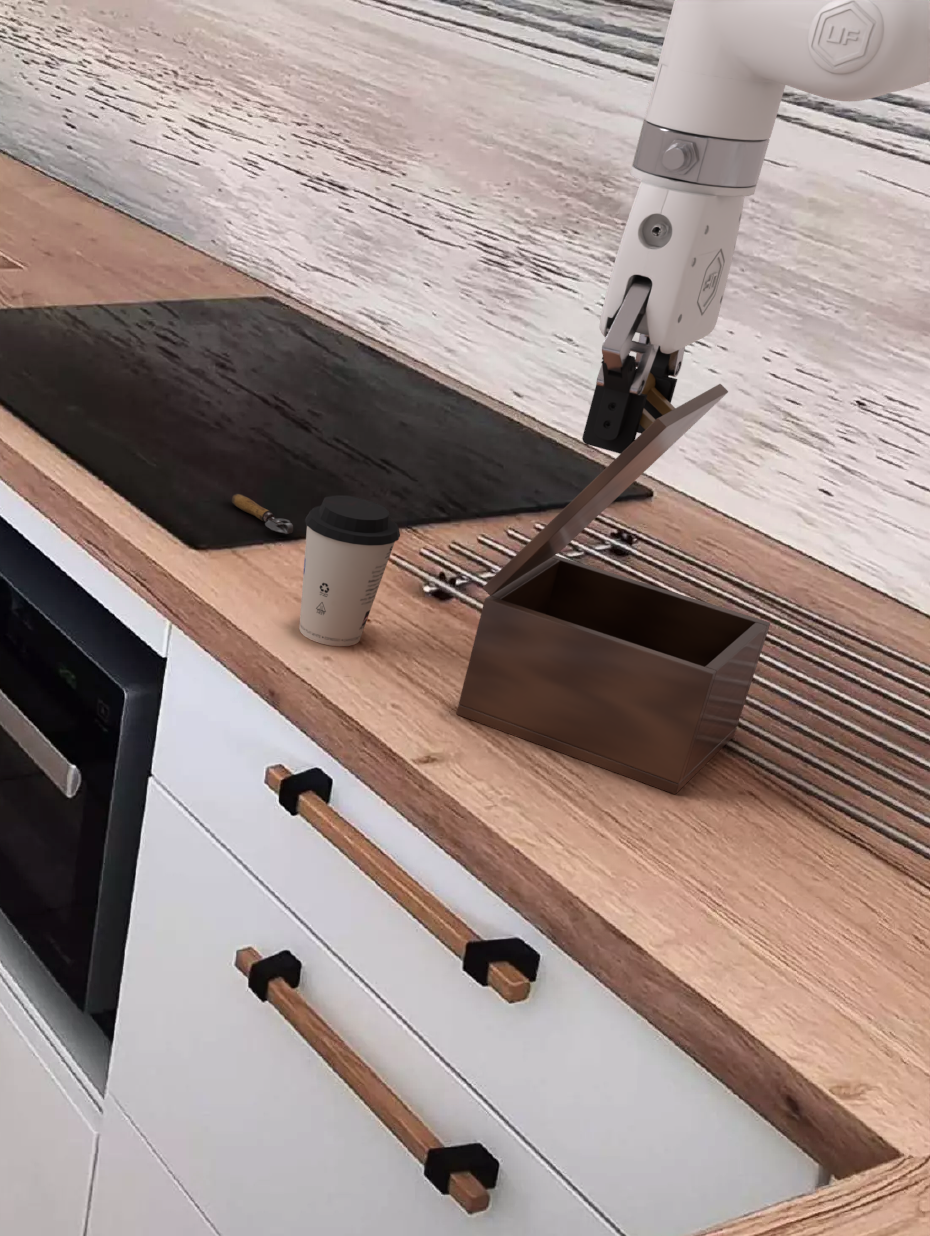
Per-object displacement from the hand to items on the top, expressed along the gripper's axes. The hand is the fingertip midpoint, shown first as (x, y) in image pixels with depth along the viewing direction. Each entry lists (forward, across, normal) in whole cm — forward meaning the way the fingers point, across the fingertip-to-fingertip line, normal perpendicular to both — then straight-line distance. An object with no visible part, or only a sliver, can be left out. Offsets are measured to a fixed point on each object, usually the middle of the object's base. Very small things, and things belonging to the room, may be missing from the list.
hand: (622, 436), depth 132 cm
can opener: (+20, +17, +32) cm, 42 cm away
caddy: (+20, 0, -4) cm, 20 cm away
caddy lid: (+4, 0, 0) cm, 4 cm away
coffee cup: (+20, 0, +17) cm, 27 cm away
